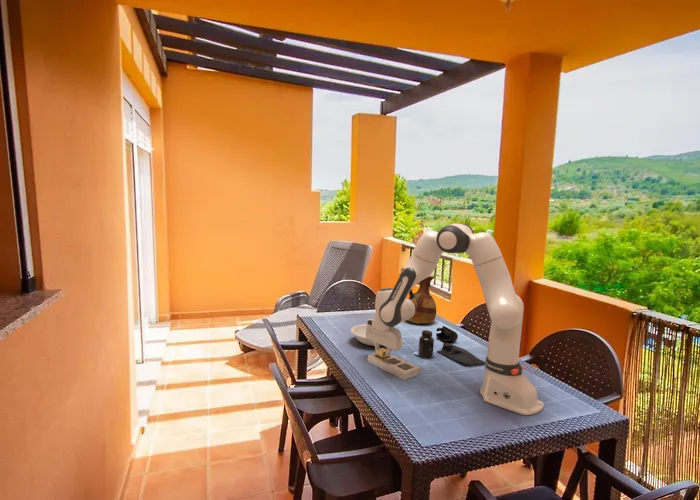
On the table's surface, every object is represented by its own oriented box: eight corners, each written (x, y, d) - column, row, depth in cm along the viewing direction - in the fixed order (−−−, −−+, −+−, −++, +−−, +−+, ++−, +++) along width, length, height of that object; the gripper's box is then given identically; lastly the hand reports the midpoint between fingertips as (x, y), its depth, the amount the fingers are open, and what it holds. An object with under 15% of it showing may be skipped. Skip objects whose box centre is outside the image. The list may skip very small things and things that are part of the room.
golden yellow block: (388, 363, 183) (389, 350, 182) (382, 365, 180) (382, 352, 180) (382, 360, 186) (383, 347, 185) (375, 362, 183) (376, 349, 183)
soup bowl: (344, 348, 200) (345, 335, 199) (355, 333, 223) (356, 321, 222) (393, 354, 194) (394, 341, 193) (399, 338, 217) (400, 326, 217)
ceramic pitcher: (441, 326, 244) (444, 276, 240) (410, 327, 238) (413, 277, 235) (426, 317, 263) (429, 271, 259) (397, 318, 257) (400, 271, 254)
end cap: (457, 343, 214) (458, 331, 213) (445, 344, 211) (446, 332, 210) (446, 337, 223) (447, 325, 222) (435, 338, 220) (436, 326, 220)
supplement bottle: (432, 359, 189) (434, 334, 188) (417, 358, 191) (419, 333, 189) (432, 354, 196) (434, 330, 195) (418, 352, 197) (419, 328, 196)
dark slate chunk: (461, 369, 180) (462, 359, 180) (434, 352, 201) (434, 342, 200) (489, 365, 186) (490, 355, 186) (460, 349, 206) (460, 340, 206)
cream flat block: (420, 374, 172) (420, 367, 171) (404, 379, 166) (404, 372, 165) (383, 357, 190) (383, 351, 189) (367, 361, 184) (367, 355, 183)
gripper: (406, 328, 175) (404, 359, 177) (374, 317, 191) (372, 346, 192) (395, 331, 171) (393, 362, 173) (364, 319, 187) (362, 348, 188)
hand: (382, 353), depth 183 cm, fingers open, 5 cm apart
